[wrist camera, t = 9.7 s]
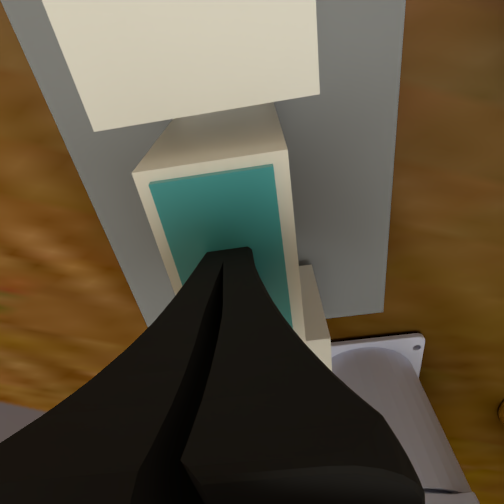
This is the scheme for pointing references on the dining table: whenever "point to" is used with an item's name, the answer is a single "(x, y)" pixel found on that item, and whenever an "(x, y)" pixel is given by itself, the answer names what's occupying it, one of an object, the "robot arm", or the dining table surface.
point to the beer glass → (501, 412)
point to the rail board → (314, 150)
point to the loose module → (225, 198)
